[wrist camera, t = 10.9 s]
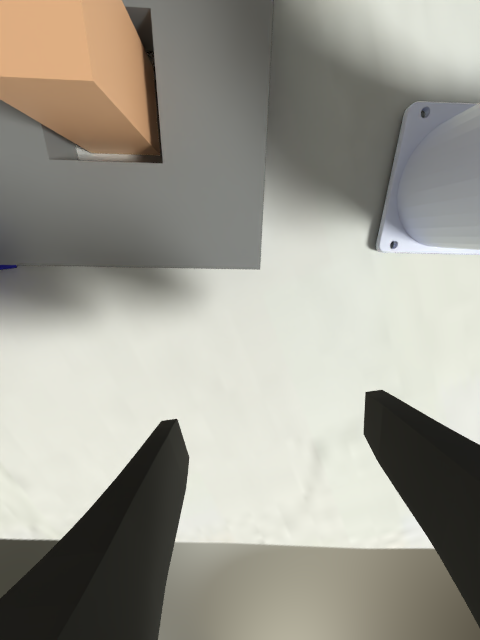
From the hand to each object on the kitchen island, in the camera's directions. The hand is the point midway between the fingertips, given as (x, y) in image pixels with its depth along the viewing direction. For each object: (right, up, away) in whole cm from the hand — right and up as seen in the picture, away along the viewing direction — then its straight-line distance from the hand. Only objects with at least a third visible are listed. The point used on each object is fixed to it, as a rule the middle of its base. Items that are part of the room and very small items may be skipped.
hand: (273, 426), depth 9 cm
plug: (-8, +16, +4) cm, 18 cm away
